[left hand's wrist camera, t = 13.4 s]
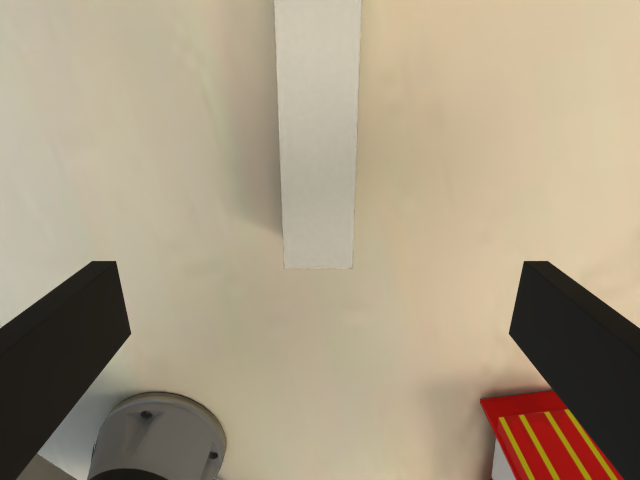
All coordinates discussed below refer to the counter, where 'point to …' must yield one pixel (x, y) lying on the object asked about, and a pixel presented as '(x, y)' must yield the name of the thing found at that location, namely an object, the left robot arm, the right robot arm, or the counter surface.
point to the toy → (542, 441)
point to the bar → (318, 129)
